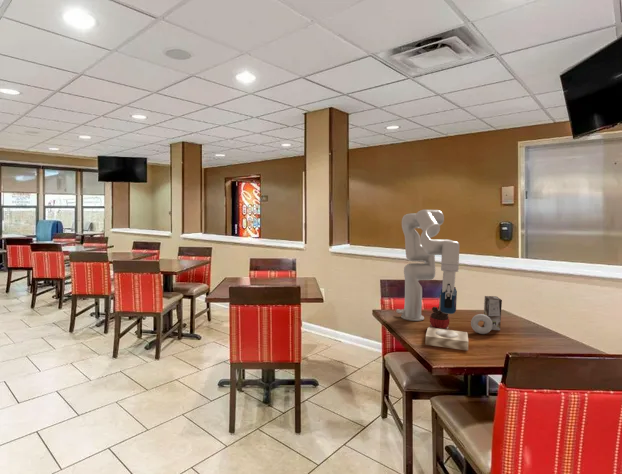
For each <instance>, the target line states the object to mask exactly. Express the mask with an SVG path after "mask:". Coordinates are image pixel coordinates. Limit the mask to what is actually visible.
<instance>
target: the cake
mask: <svg viewBox="0 0 622 474" xmlns="http://www.w3.org/2000/svg"><path fill="white" fill-rule="evenodd" d="M440 300H441V294H439V300H438V302H439V303H438V304H439V305H438V307H437V306H432V308H431V311H432V313H431V314H430V317H429V323H430V325H429V328H437V329H445V330H450V327H449V325H450V318H449V314H445V313H442V312H441V310H440Z"/></svg>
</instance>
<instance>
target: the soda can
mask: <svg viewBox="0 0 622 474" xmlns="http://www.w3.org/2000/svg"><path fill="white" fill-rule="evenodd" d="M447 287H448V286H447ZM450 288H451V286H450ZM445 292H447V289H446V291H445ZM445 292H444V293H443V292H442V288H441V289H440V295H441V300H440V310H441V312H442V313H445V314H448V315H454V314H455V313H457V301H458V300H457V299H458V297H457V296H458V295H457V294H458V293H457V292H458V291H457V289H456V286H454V292H453V293H452V308H445V307H444V303H445ZM450 292H451V291H450ZM450 298H451V297H450ZM446 299H447V297H446Z"/></svg>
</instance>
